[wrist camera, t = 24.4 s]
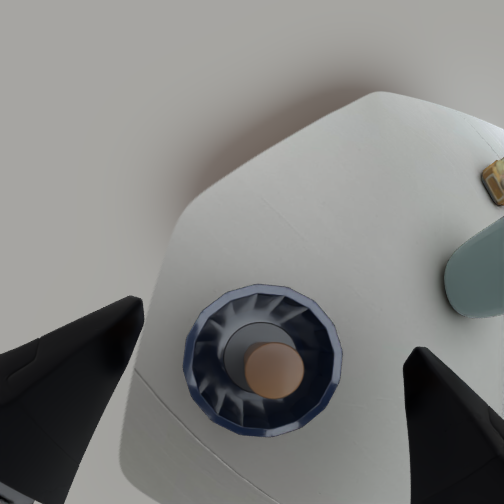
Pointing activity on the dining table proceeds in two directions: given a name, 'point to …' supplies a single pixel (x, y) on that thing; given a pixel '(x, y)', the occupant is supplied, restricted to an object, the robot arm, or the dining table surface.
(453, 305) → the cup
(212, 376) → the navy peg holder
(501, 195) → the ornament
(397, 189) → the dining table surface
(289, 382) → the grey cylinder with peg
